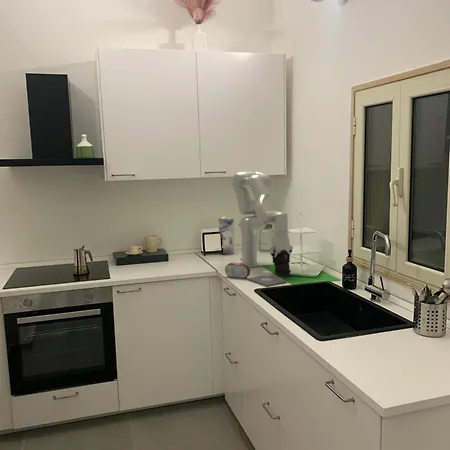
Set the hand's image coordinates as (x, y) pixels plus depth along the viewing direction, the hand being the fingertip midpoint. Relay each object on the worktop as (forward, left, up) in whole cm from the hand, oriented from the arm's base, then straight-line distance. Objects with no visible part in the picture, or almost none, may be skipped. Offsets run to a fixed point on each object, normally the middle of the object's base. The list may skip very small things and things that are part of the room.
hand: (281, 262), depth 278 cm
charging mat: (+7, -16, -7) cm, 19 cm away
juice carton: (-72, +8, -8) cm, 73 cm away
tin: (-10, -24, -8) cm, 27 cm away
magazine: (0, 0, -8) cm, 8 cm away
